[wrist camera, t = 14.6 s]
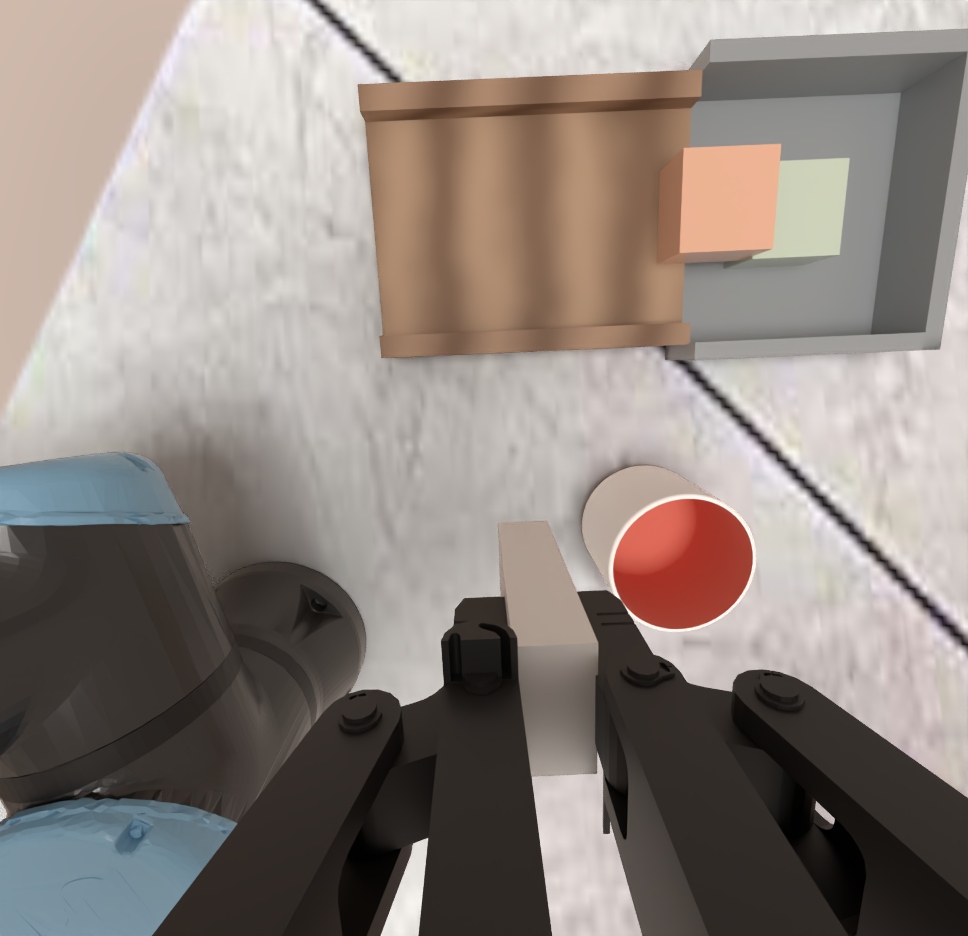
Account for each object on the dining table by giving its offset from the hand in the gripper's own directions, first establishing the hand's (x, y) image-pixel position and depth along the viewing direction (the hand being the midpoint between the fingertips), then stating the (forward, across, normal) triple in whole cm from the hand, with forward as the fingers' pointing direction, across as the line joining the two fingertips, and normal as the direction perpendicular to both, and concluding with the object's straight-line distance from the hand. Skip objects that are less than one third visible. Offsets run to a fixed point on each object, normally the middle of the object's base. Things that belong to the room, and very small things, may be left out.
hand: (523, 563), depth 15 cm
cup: (+27, +12, -8) cm, 30 cm away
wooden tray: (+26, +3, +15) cm, 31 cm away
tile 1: (+26, +21, +15) cm, 36 cm away
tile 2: (+23, +15, +15) cm, 32 cm away
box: (+26, +23, +15) cm, 38 cm away
